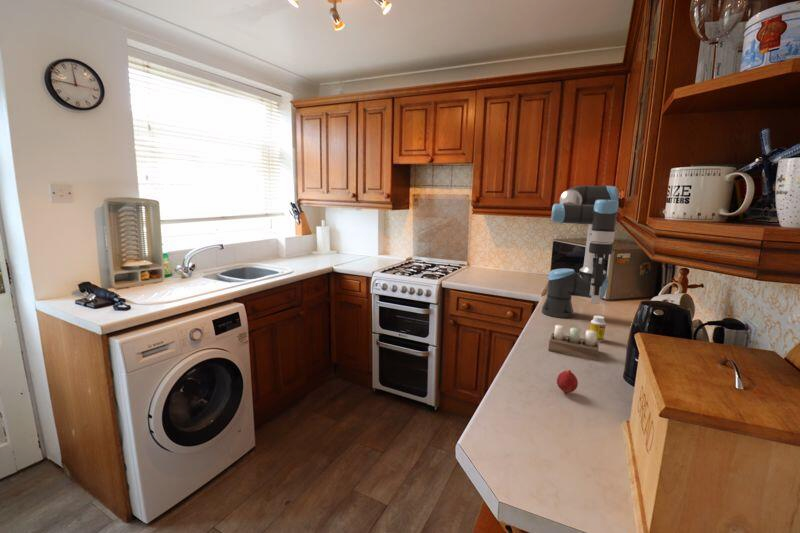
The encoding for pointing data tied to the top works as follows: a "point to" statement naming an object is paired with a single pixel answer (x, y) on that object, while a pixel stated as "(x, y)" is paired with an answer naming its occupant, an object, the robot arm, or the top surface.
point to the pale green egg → (574, 335)
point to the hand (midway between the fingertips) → (594, 299)
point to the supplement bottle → (598, 327)
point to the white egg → (590, 338)
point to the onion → (567, 381)
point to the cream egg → (559, 332)
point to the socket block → (574, 348)
